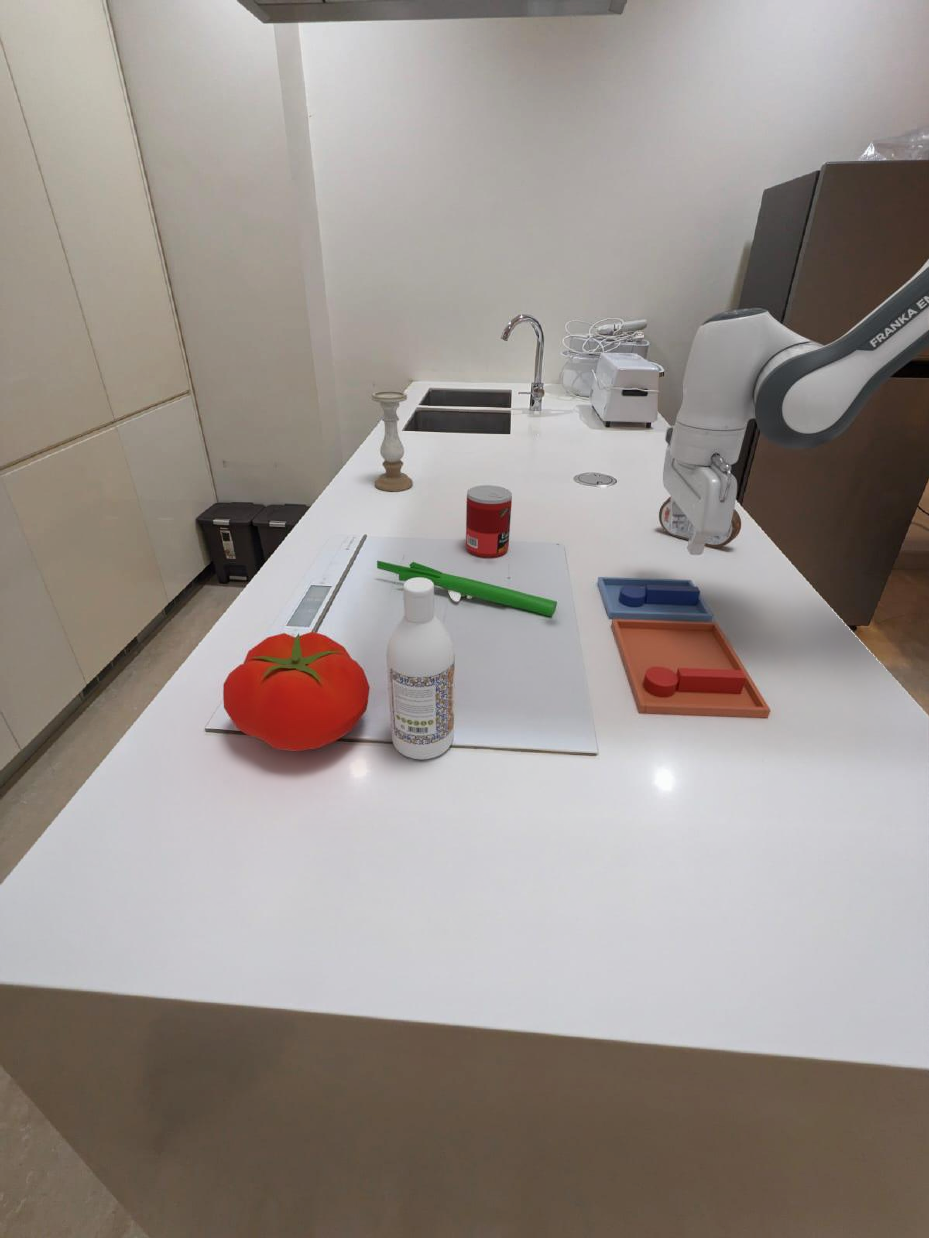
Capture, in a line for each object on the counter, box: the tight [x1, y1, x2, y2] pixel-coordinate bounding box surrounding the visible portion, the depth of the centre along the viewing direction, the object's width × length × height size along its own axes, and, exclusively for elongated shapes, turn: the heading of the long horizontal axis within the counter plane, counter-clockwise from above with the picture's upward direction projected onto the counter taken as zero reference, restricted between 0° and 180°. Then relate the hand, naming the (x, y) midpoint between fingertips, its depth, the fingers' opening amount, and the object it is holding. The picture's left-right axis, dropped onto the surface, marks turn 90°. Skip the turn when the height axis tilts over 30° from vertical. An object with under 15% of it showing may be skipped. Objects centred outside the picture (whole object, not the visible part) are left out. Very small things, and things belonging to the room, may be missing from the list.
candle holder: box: [371, 390, 414, 492], centre depth 130 cm, size 9×9×20 cm
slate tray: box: [596, 576, 713, 622], centre depth 91 cm, size 15×11×2 cm
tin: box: [658, 496, 742, 548], centre depth 110 cm, size 15×3×8 cm, turn 51°
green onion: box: [376, 560, 558, 618], centre depth 91 cm, size 5×3×30 cm
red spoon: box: [643, 666, 746, 697], centre depth 73 cm, size 12×4×3 cm, turn 88°
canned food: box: [465, 484, 513, 559], centre depth 104 cm, size 8×8×11 cm
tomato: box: [222, 631, 370, 752], centre depth 65 cm, size 14×16×10 cm
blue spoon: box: [619, 585, 701, 607], centre depth 91 cm, size 12×4×3 cm, turn 88°
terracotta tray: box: [610, 619, 771, 719], centre depth 77 cm, size 15×19×2 cm
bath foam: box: [386, 577, 456, 760], centre depth 60 cm, size 7×7×20 cm
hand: (684, 538), depth 85 cm, fingers open, 8 cm apart
